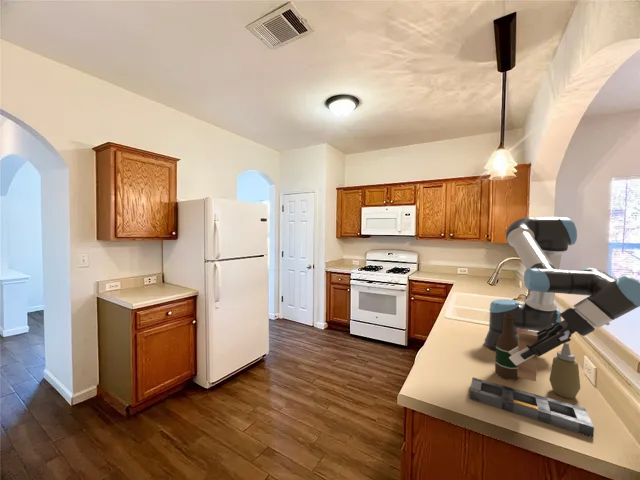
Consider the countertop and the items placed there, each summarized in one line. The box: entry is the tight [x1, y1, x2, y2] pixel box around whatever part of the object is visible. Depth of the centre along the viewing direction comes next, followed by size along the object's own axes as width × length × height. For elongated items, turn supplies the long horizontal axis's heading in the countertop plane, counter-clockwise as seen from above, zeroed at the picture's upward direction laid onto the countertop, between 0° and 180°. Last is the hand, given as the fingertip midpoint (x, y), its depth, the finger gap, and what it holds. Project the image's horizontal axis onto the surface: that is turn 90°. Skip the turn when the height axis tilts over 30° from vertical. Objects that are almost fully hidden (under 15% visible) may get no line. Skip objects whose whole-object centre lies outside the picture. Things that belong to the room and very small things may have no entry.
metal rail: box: [469, 377, 595, 438], centre depth 87 cm, size 30×10×3 cm, turn 56°
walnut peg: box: [517, 329, 538, 382], centre depth 86 cm, size 4×4×14 cm
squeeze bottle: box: [548, 342, 581, 400], centre depth 95 cm, size 8×8×18 cm
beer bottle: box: [494, 314, 519, 381], centre depth 107 cm, size 8×8×24 cm
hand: (512, 358), depth 89 cm, fingers closed on walnut peg, 4 cm apart
